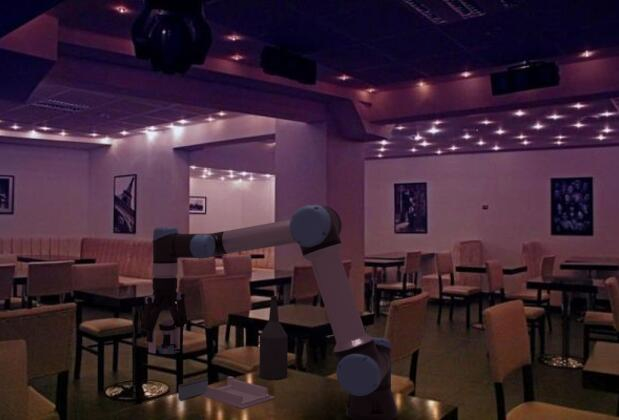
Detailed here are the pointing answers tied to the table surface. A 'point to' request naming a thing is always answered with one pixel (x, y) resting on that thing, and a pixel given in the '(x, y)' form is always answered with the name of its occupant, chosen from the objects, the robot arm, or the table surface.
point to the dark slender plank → (192, 388)
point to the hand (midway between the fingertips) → (164, 350)
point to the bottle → (273, 347)
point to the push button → (167, 337)
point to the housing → (238, 393)
